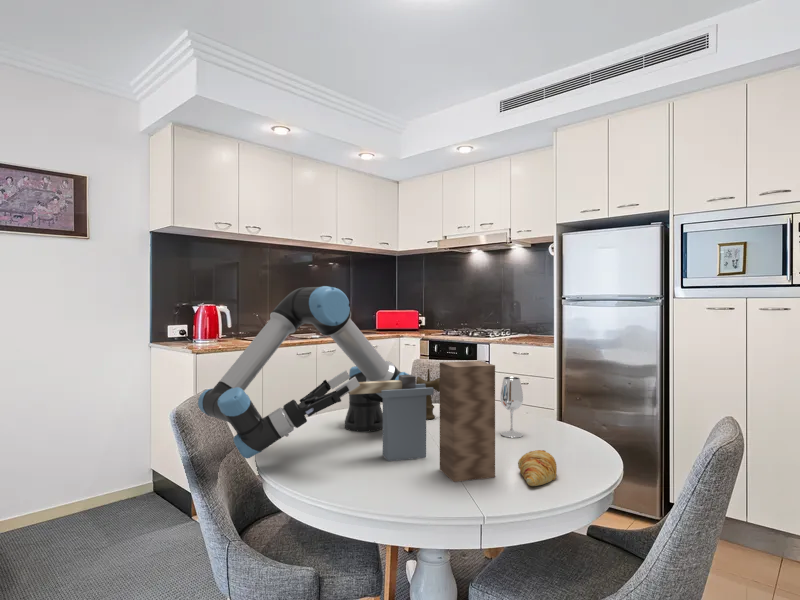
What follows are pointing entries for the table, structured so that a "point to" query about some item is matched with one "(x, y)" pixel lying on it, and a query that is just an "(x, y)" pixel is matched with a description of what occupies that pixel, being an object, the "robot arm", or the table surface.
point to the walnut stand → (467, 420)
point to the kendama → (429, 405)
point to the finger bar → (385, 385)
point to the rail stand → (404, 422)
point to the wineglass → (511, 401)
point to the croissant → (537, 467)
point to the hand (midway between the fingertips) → (352, 377)
